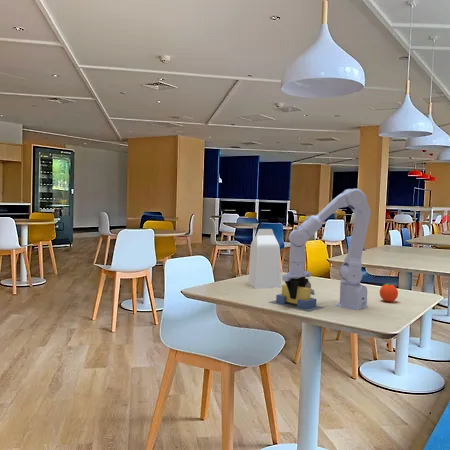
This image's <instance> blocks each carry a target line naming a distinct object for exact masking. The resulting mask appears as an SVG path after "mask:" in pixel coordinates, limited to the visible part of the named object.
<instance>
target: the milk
mask: <svg viewBox="0 0 450 450" xmlns="http://www.w3.org/2000/svg"><path fill="white" fill-rule="evenodd" d="M248 263H249V264H248V280H247V284H248V285H250V286H251V287H252V288H254V289H255V290H257V289H258V290H259V289H273V288H277V289H278V288H279V289H282V281H281V280H282V277H281V276H282V275H281V273H282V271H281V248H280V244H279V242H278V240H277V238H276V235H275V234H274V230H273V229H272V228H259V229H258V230H257V232H256V234H255V236H254V238H253V239H252V241H251V243H250V251H249V262H248Z"/></svg>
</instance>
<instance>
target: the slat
mask: <svg viewBox="0 0 450 450" xmlns="http://www.w3.org/2000/svg"><path fill="white" fill-rule="evenodd" d="M311 289H312V287H311V288H306V287H301V286H298V288H297V295H296V299H291V298H290V294H289V290H288V287H287V285H286V283H284V284H281V294H282V296H286V299H285V301H286V302H291V303H295V304H297V300H298V299H300V300H305V301H306V300H310V298H312V297H311V295H312V293H311Z"/></svg>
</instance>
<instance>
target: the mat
mask: <svg viewBox="0 0 450 450" xmlns="http://www.w3.org/2000/svg"><path fill="white" fill-rule="evenodd" d="M268 303H270V304H273V305H277V306H278V305H279V306H282V307H286V308H290V309H294V310H299V311H302V312H303V311H304V312H307V313H309V312H313V311H317V310H321V309H324V308H325V306H320V305H316V307H314V308H310V309H306V310H305V309H301V308H297V304H295V303H291V302H286V301H285V304H280V303H276V300H272V301H268Z"/></svg>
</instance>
